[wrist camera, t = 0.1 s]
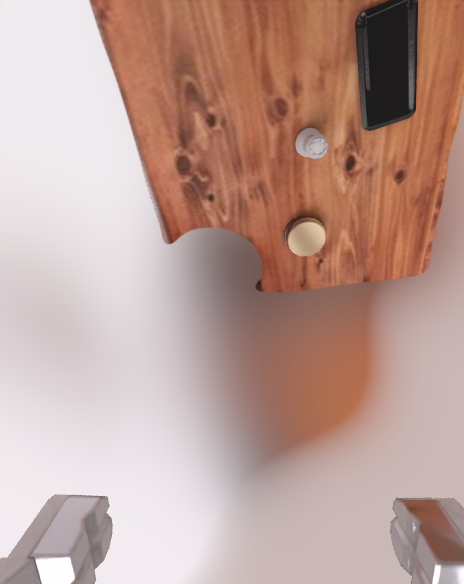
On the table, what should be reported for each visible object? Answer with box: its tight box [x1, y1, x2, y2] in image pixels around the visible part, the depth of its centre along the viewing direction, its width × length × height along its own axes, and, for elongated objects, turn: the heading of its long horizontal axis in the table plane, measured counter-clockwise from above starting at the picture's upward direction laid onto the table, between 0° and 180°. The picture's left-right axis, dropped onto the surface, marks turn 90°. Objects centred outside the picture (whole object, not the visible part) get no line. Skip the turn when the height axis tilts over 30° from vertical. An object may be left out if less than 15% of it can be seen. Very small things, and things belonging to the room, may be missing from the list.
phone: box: [356, 0, 418, 131], centre depth 43 cm, size 8×1×15 cm
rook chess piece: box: [295, 128, 328, 159], centre depth 46 cm, size 4×4×8 cm
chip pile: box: [284, 217, 325, 256], centre depth 56 cm, size 8×8×4 cm
